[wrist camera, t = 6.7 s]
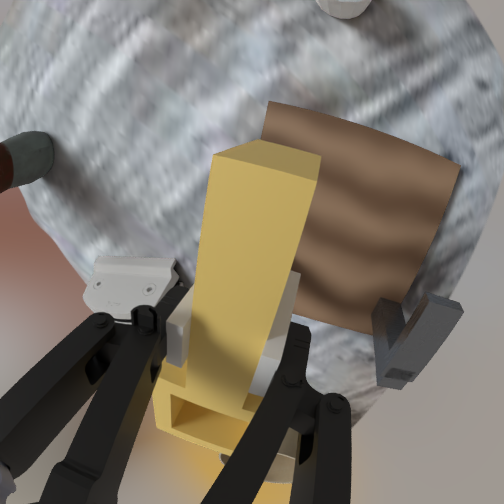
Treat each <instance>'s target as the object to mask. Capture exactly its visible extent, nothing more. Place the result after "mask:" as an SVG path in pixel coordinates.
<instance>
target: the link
mask: <svg viewBox="0 0 504 504" xmlns="http://www.w3.org/2000/svg"><path fill="white" fill-rule="evenodd" d="M320 162H321V156H319V155H316V154H312V153H309V152H305V151H302V150H298V149H294V148H291V147H287V146H283V145H279V144H275V143H271V142H267V141H263V140H259V139H257V140H254V141H251V142H248V143H245V144H242V145H239V146H236V147H233V148H230V149H227V150H225V151H222V152H219V153H216V154H213V158H212V164H211V170H210V176H209V182H208V188H207V194H206V201H205V208H204V214H203V221H202V229H201V236H200V243H199V251H198V259H197V267H196V275H195V284H194V293H193V303H192V312H191V315H192V317H191V328H190V339H189V351H188V357H187V359H186V361H185V363H184V364H183V366H182V368H179V367H177V366H174V365H172V364H169V363H167V362H166V356H165V358H164V360H163V361H162V368H161V372H160V374H159V377H158V379H157V382H156V385H155V387H154V390H153V393H152V395H153V404H154V412H155V420H156V427H157V428H159V429H161V430H163V431H165V432H168V433H170V434H172V435H175V436H177V437H179V438H182V439H184V440H187V441H189V442H192V443H194V444H197V445H200V446H202V447H205V448H208V449H211V450H214V451H217V452H219V453H222V454H226V455H229V456H231V454H232V453H233V451H234V449H235V448H236V446H237V444H238V443H239V441H240V439H241V437H242V436H243V434H244V432H245V430H246V429H247V427H248V425H249V423H250V422H251V420H252V418H253V416H254V414H255V412H256V411H257V409H258V407H259V405H260V403H261V401H262V400H263V398H264V397H261V396H258V395H255V394H251V393H248V391H249V388H250V386H251V383H252V380H253V377H254V374H255V371H256V368H257V366H258V363H259V360H260V357H261V354H262V351H263V349H264V346H265V343H266V340H267V338H268V336H269V333H270V330H271V327H272V324H273V321H274V318H275V315H276V312H277V309H278V306H279V303H280V300H281V297H282V294H283V291H284V288H285V285H286V282H287V279H288V276H289V273H290V270H291V267H292V263H293V260H294V257H295V254H296V251H297V247H298V244H299V241H300V238H301V235H302V231H303V228H304V225H305V221H306V218H307V215H308V211H309V208H310V204H311V201H312V198H313V194H314V191H315V187H316V184H317V179H318V174H319V168H320Z"/></svg>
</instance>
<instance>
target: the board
mask: <svg viewBox="0 0 504 504" xmlns="http://www.w3.org/2000/svg"><path fill="white" fill-rule="evenodd" d="M261 140H263V141H267V142H271V143H275V144H279V145H283V146H287V147H291V148H294V149H298V150H302V151H305V152H309V153H312V154H316V155H319V156H321V162H320V168H319V174H318V179H317V184H316V187H315V191H314V194H313V198H312V201H311V204H310V208H309V211H308V215H307V218H306V221H305V225H304V228H303V231H302V235H301V238H300V241H299V244H298V247H297V251H296V254H295V257H294V260H293V263H292V267H291V271H294V272H297V273H301V276H300V281H299V285H298V290H297V295H296V299H295V303H294V308H293V312H292V313H293V314H296V315H300V316H303V317H307V318H310V319H314V320H317V321H321V322H324V323H328V324H331V325H335V326H339V327H342V328H346V329H350V330H353V331H357V332H361V333H365V334H369V335H373V329H372V320H371V314H372V312H373V310H374V308H375V306H376V304H377V302H378V300H379V298H380V297H382V298H385V299H389V300H392V301H396V302H399V303H400V304H401V303H402V301H403V299H404V297H405V296H406V294H407V292H408V290H409V288H410V286H411V284H412V282H413V280H414V278H415V277H416V275H417V273H418V271H419V269H420V266H421V264H422V262H423V260H424V258H425V256H426V254H427V252H428V250H429V247H430V245H431V243H432V241H433V238H434V236H435V234H436V232H437V229H438V227H439V224H440V222H441V220H442V217H443V215H444V212H445V209H446V207H447V204H448V202H449V199H450V196H451V193H452V191H453V188H454V185H455V182H456V179H457V176H458V173H459V170H460V167H461V165H459V164H457V163H455V162H452V161H450V160H448V159H446V158H444V157H442V156H440V155H437V154H435V153H433V152H431V151H428V150H426V149H424V148H421V147H419V146H417V145H414V144H412V143H409V142H407V141H404V140H402V139H399V138H397V137H394V136H391V135H389V134H386V133H383V132H380V131H378V130H375V129H372V128H369V127H366V126H363V125H360V124H357V123H354V122H350V121H347V120H344V119H340V118H337V117H334V116H330V115H326V114H323V113H319V112H315V111H311V110H308V109H303V108H299V107H295V106H291V105H286V104H282V103H277V102H272V101H269V102H268V107H267V112H266V117H265V121H264V126H263V131H262V136H261Z"/></svg>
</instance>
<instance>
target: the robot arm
mask: <svg viewBox="0 0 504 504" xmlns="http://www.w3.org/2000/svg"><path fill="white" fill-rule="evenodd" d="M300 276H301V273H297V272H294V271H291V270H290V273H289V276H288V279H287V282H286V285H285V288H284V291H283V294H282V297H281V300H280V303H279V306H278V309H277V312H276V315H275V318H274V321H273V324H272V327H271V330H270V333H269V336H268V338H267V340H266V343H265V346H264V349H263V351H262V354H261V357H260V360H259V363H258V366H257V368H256V371H255V374H254V377H253V380H252V383H251V386H250V388H249V391H248V393H251V394H255V395H258V396H261V397H264V398H263V400H262V401H261V403H260V405H259V407H258V409H257V411H256V412H255V414H254V416H253V418H252V420H251V422H250V423H249V425H248V427H247V429H246V430H245V432H244V434H243V436H242V437H241V439H240V441H239V443H238V444H237V446H236V448H235V449H234V451H233V453H232V454H231V456H230V458H229V459H228V461H227V463H226V464H225V466H224V468H223V469H222V471H221V472H220V474H219V476H218V477H217V479H216V480H215V482H214V484H213V485H212V487H211V488H210V490H209V491H208V493H207V494H206V496H205V497H204V499H203V501H202V502H201V504H252V502H253V501H254V499H255V497H256V495H257V493H258V491H259V489H260V487H261V485H262V483H263V482H264V480H265V478H266V476H267V474H268V472H269V470H270V468H271V466H272V463H273V461H274V459H275V457H276V455H277V453H278V451H279V449H280V447H281V444H282V442H283V440H284V438H285V436H286V433H287V431H288V429H289V427H290V428H292V429H293V430H295V431H297V432H298V441H297V450H296V458H295V467H294V474H293V482H292V489H291V496H290V502H289V504H350V499H351V460H352V457H351V452H352V451H351V450H352V447H351V408H350V404H349V402H348V400H347V399H346V398H345V397H344V396H342V395H341V394H337V393H328V394H326V395H323V394H321V393H319V392H318V391H316V390H315V389H313V388H312V387H311V386H310V385H309V384H308V382H307V380H306V368H307V361H308V355H309V348H310V342H311V332H310V330H309V327H308V326H304V325H301V324H297V323H294V322H291V317H292V312H293V308H294V303H295V299H296V295H297V290H298V285H299V281H300ZM194 284H195V283H194ZM193 293H194V285H193V286H192V287H191V288H190V289H188V288H185V287H182V286H179V285H177V286H175V287H173V288H171V289H169V291H168V292H167V293H166V294H165V296H164V297H163V298H162V299H161V300H160V301H159V302H158V304H157V305H156V306H155V307H153V306H151V305H139V306H136V307H134V308H133V309H132V310H131V311H130V312H131V322H132V324H123V323H116V322H115V320H114V318H113V316H111V315H110V314H109V313H106V312H97V313H94V314H92V315H90V316H89V317H88V318H87V319H86V320H85V321H83V322H82V323H81V324H80V325H79V326H78V327H76V328H75V329H74V330H73V331H72V332H71V333H70V334H69V335H67V336H66V337H65V338H64V339H63V340H62V341H61V342H60V343H59V344H57V346H55V347H54V348H53V349H52V350H51V351H50V352H49V353H48V354H46V355H45V356H44V357H43V358H42V359H41V360H40V361H39V362H38V363H37V364H36V365H35V366H34V367H32V368H31V369H30V370H29V371H28V372H27V373H26V374H25V375H24V376H23V377H22V378H21V379H20V380H19V381H18V382H17V383H16V384H15V385H14V386H13V387H12V388H11V389H10V390H9V391H8V392H7V393H6V394H5V395H4V396H3V397H2V398H1V399H0V504H6V499H7V496H9V495H10V494H11V493H14V492H15V491H16V485H15V483H14V479H15V478H17V477H19V476H20V475H22V474H23V473H24V472H25V471H27V469H28V468H29V467H30V466H31V465H32V464H33V463H34V462H35V461H36V459H37V458H38V457H39V456H40V455H41V454H42V452H43V451H44V450H45V449H46V448H47V447H48V445H49V444H50V443H51V442H52V441H53V439H54V438H55V437H56V436H57V435H58V434H59V433H60V431H61V430H62V429H63V428H64V427H65V425H66V424H67V423H68V422H69V421H70V420H71V419H72V417H73V416H74V415H75V414H76V413H77V412H78V411H79V409H80V408H81V407H82V406H83V405H84V404H85V403H86V402H87V400H88V399H89V398H90V397H91V396H92V395H93V394H94V393H95V391H96V390H97V391H96V393H95V395H94V397H93V399H92V401H91V403H90V405H89V407H88V409H87V411H86V414H85V415H84V418H83V420H82V422H81V424H80V426H79V428H78V430H77V433H76V435H75V437H74V439H73V441H72V443H71V446H70V448H69V450H68V452H67V455H66V457H65V459H64V460H63V461H61V462H59V463H57V464H56V465H55V466H54V467H53V469H52V471H51V473H50V475H49V478H48V480H47V483H46V485H45V488H44V490H43V493H42V496H41V498H40V501H39V502H36V503H30V504H117V499H118V498H117V494H118V489H119V486H120V483H121V480H122V477H123V474H124V471H125V468H126V465H127V462H128V459H129V456H130V453H131V451H132V448H133V445H134V442H135V439H136V436H137V433H138V431H139V428H140V425H141V422H142V420H143V417H144V414H145V411H146V409H147V406H148V403H149V400H150V398H151V395H152V393H153V390H154V387H155V385H156V382H157V379H158V377H159V374H160V372H161V368H162V361H163V360H164V358H165V356H166V362H167V363H169V364H172V365H174V366H177V367H179V368H182V366H183V364H184V363H185V361H186V359H187V357H188V351H189V339H190V328H191V317H192V315H191V312H192V303H193Z"/></svg>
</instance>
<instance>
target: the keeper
mask: <svg viewBox="0 0 504 504" xmlns="http://www.w3.org/2000/svg"><path fill="white" fill-rule="evenodd" d="M463 313H464V311H463V309H462V307H461V305H460V303H459V302H456V301H453V300H450V299H447V298H443V297H440V296H437V295H434V294H431V293H428V292H425V294H424V296H423V297H422V299H421V301H420V303H419V304H418V306H417V308H416V310H415V311H414V313H413V315H412V316H411V318H410V320H409V321H408V323H407V324H405V320H404V316H403V312H402V308H401V304H400V303H399V302H396V301H392V300H389V299H385V298H382V297H380V298H379V300H378V302H377V304H376V306H375V308H374V310H373V312H372V314H371V320H372V329H373V339H374V350H375V362H376V377H377V386H382V387H387V388H393V389H398V390H401V389H402V388H403V387H404V386H405V385H406V384H407V382H412V381H414V379H415V378H416V377H417V376H418V375H419V373H420V372H421V371H422V370H423V368H424V367H425V366H426V365H427V363H428V362H429V361H430V360H431V358H432V357H433V356H434V354H435V353H436V352H437V350H438V349H439V348H440V346H441V345H442V344H443V342H444V341H445V339H446V338H447V337H448V335H449V334H450V332H451V331H452V330H453V328H454V327H455V325H456V324H457V322H458V321H459V319H460V318H461V316H462V314H463Z"/></svg>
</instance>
